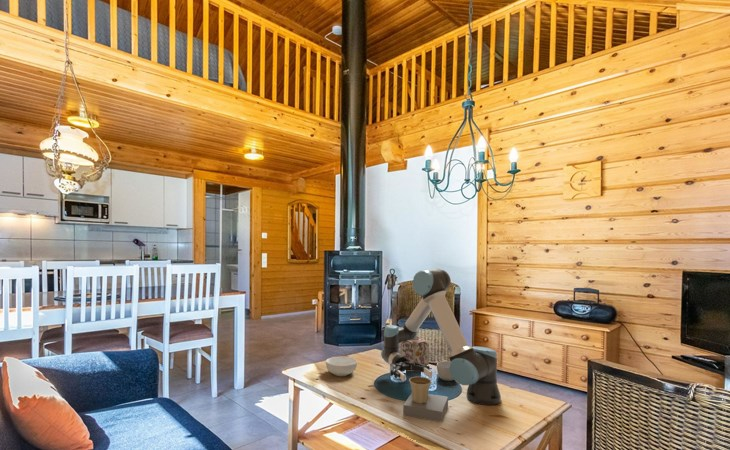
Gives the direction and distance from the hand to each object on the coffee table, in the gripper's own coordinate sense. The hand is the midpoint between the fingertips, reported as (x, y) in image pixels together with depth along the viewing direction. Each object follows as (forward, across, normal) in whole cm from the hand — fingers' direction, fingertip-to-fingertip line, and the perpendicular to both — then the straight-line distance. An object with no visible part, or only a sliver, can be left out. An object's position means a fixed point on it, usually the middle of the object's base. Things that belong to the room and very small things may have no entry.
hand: (417, 376), depth 171 cm
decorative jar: (-44, -21, -12) cm, 50 cm away
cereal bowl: (-46, +23, -12) cm, 52 cm away
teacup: (-24, -30, -12) cm, 40 cm away
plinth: (+8, 0, -12) cm, 14 cm away
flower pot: (+7, +2, -8) cm, 11 cm away
